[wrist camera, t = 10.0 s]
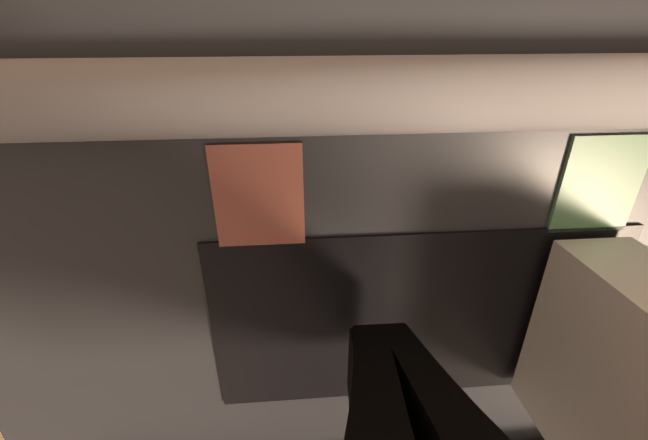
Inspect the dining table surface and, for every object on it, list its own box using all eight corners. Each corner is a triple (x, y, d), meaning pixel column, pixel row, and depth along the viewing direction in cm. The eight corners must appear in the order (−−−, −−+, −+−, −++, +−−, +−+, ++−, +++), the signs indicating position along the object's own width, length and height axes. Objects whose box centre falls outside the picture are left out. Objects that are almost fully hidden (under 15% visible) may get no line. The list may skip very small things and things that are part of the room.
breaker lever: (574, 380, 12) (700, 535, 8) (510, 385, 11) (610, 544, 8) (630, 236, 9) (839, 360, 6) (553, 240, 9) (718, 369, 6)
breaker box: (636, 398, 17) (702, 466, 15) (92, 438, 16) (50, 524, 13) (843, -8, 10) (1042, -23, 8) (-95, -10, 9) (-272, -30, 6)
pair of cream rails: (681, 445, 14) (720, 485, 13) (80, 496, 13) (57, 546, 11) (933, 48, 8) (1048, 51, 7) (-134, 57, 7) (-229, 63, 6)
